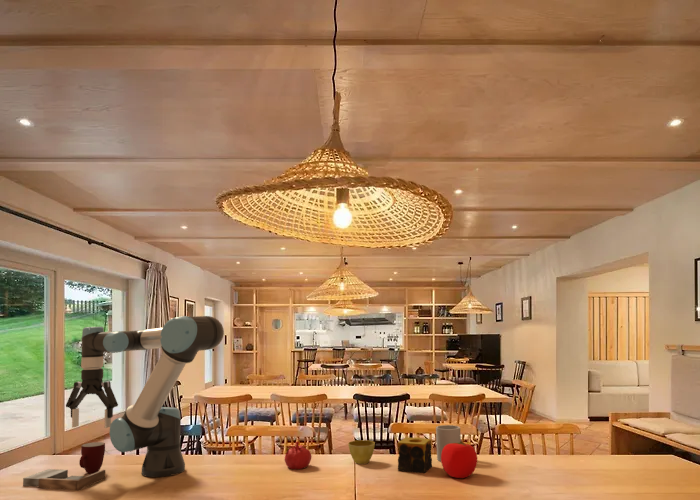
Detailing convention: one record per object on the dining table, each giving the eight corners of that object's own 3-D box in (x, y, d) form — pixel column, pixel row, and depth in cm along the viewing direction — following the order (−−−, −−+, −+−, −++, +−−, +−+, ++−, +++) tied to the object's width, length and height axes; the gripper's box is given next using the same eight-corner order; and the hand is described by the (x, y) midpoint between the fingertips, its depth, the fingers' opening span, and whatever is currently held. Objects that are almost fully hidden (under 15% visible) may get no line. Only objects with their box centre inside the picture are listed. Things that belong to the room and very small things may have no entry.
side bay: (106, 478, 210) (106, 469, 210) (78, 490, 196) (78, 480, 196) (50, 475, 215) (50, 466, 215) (19, 486, 201) (19, 477, 201)
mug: (92, 477, 211) (93, 448, 212) (71, 477, 212) (72, 448, 213) (108, 469, 221) (109, 442, 223) (88, 469, 223) (89, 441, 224)
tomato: (436, 479, 198) (435, 444, 200) (445, 469, 211) (444, 436, 212) (473, 482, 194) (472, 446, 195) (480, 472, 207) (479, 438, 208)
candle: (397, 471, 210) (396, 442, 211) (405, 464, 220) (404, 436, 221) (425, 473, 207) (424, 444, 208) (432, 466, 216) (431, 438, 217)
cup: (434, 457, 229) (433, 425, 230) (457, 456, 230) (456, 424, 231) (440, 463, 220) (439, 430, 221) (464, 462, 221) (463, 429, 222)
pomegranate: (316, 466, 221) (316, 440, 222) (300, 472, 212) (300, 445, 213) (295, 462, 226) (295, 437, 227) (278, 468, 218) (279, 442, 219)
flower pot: (375, 465, 219) (375, 445, 220) (348, 466, 219) (347, 446, 220) (374, 459, 229) (374, 439, 230) (348, 459, 229) (348, 440, 230)
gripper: (128, 367, 222) (127, 425, 219) (70, 367, 227) (69, 424, 225) (115, 369, 214) (115, 429, 212) (56, 369, 220) (54, 428, 218)
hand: (91, 427), depth 218 cm, fingers open, 13 cm apart
